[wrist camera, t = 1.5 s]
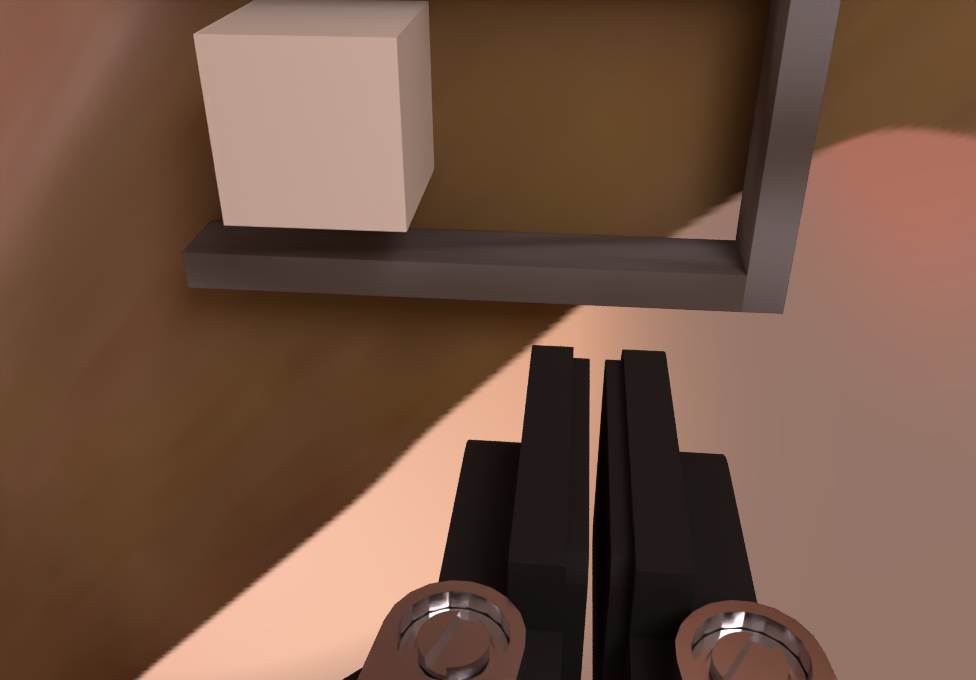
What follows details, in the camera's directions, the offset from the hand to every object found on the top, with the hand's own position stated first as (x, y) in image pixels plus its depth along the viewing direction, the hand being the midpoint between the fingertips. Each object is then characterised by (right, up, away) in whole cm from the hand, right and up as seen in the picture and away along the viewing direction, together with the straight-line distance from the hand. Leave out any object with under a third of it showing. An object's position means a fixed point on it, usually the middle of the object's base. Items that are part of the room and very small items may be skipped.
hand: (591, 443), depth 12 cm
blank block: (-5, +9, +15) cm, 19 cm away
